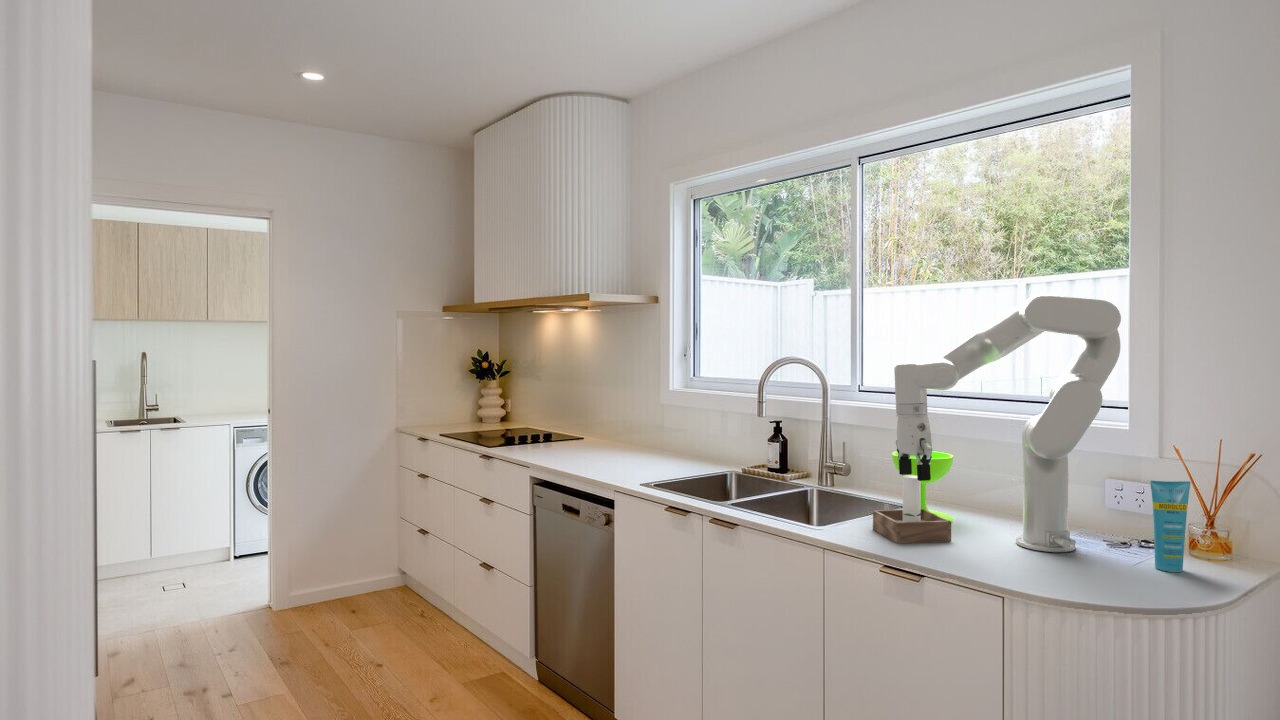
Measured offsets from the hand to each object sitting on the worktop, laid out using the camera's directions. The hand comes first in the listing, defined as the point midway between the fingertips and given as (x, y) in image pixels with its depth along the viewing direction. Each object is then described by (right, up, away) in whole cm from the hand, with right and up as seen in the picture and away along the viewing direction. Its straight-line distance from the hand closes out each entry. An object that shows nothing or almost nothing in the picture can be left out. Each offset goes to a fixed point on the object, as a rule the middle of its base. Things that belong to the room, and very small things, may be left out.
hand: (914, 477), depth 190 cm
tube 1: (-1, -15, 0) cm, 15 cm away
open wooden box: (-1, -15, +1) cm, 15 cm away
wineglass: (+9, -15, +18) cm, 25 cm away
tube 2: (+44, -15, -30) cm, 55 cm away
